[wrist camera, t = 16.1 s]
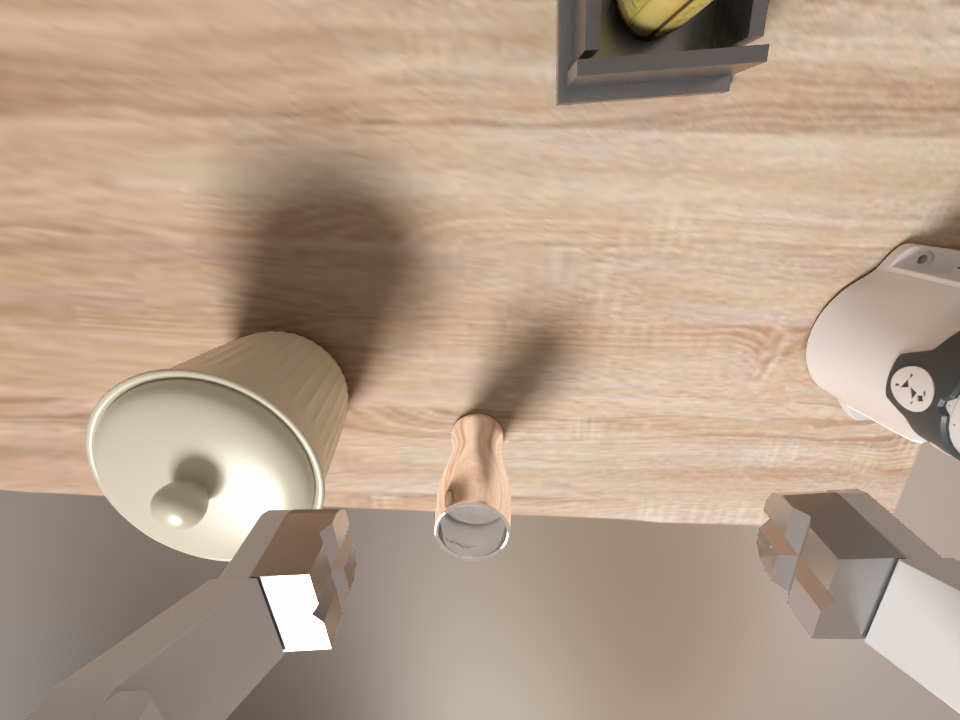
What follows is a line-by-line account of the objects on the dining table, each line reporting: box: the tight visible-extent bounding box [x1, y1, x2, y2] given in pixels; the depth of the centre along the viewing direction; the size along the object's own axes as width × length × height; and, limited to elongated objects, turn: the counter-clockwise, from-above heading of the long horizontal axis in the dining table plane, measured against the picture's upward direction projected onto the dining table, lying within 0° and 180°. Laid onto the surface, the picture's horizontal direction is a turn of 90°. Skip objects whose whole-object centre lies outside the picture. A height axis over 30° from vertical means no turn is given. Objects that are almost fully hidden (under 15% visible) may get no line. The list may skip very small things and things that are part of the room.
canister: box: [86, 331, 349, 561], centre depth 40 cm, size 18×18×21 cm
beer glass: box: [434, 413, 511, 561], centre depth 45 cm, size 7×7×15 cm
